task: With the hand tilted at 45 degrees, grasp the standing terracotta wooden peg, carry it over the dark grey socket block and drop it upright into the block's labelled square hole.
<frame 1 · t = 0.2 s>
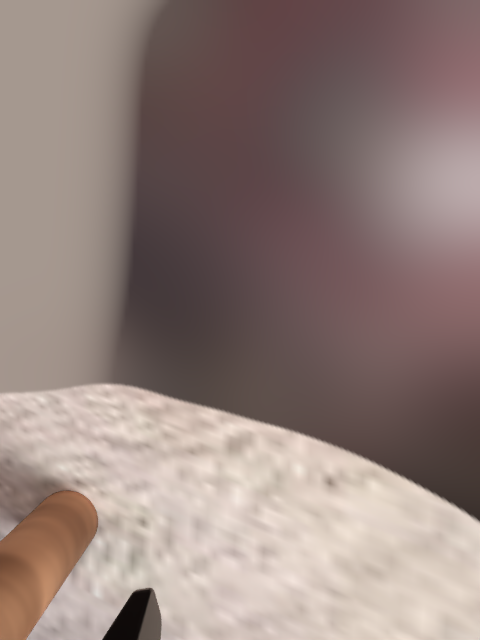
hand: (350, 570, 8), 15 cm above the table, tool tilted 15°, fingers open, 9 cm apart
peg: (67, 521, 24), on the table
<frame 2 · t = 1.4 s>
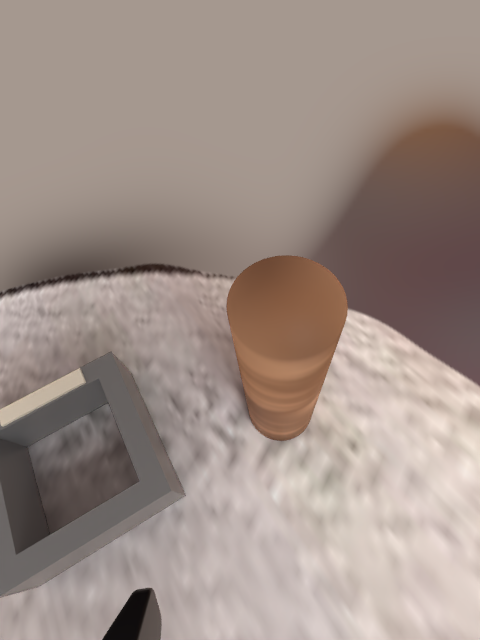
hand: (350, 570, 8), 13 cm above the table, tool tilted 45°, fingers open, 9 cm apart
socket block: (89, 466, 23), on the table
peg: (279, 408, 24), on the table
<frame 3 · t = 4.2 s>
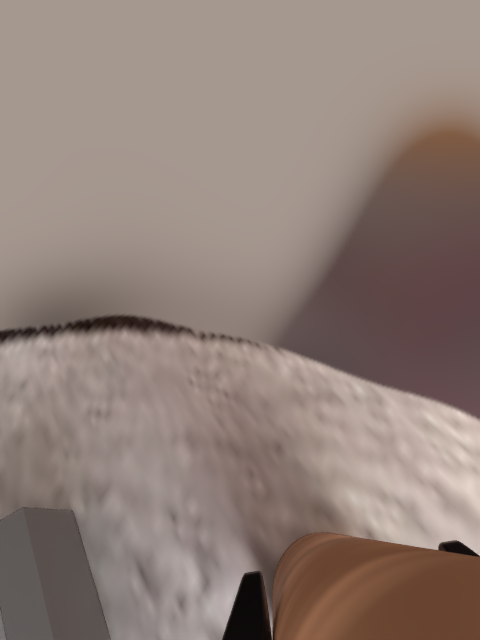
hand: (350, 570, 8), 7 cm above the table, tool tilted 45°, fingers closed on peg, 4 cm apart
peg: (328, 596, 13), on the table, touching gripper
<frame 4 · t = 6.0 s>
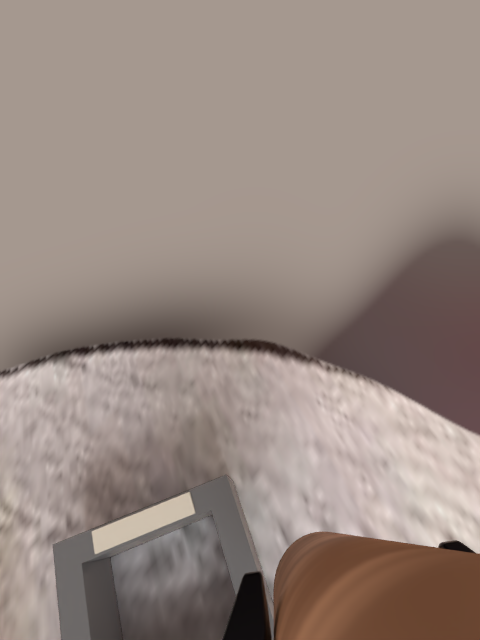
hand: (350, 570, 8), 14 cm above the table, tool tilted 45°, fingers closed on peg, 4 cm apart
socket block: (181, 601, 19), on the table
peg: (328, 595, 13), point 7 cm above the table, touching gripper
when the fingers open (9 cm above the table, at t = 8.1 s): peg drops 2 cm, resting in socket block.
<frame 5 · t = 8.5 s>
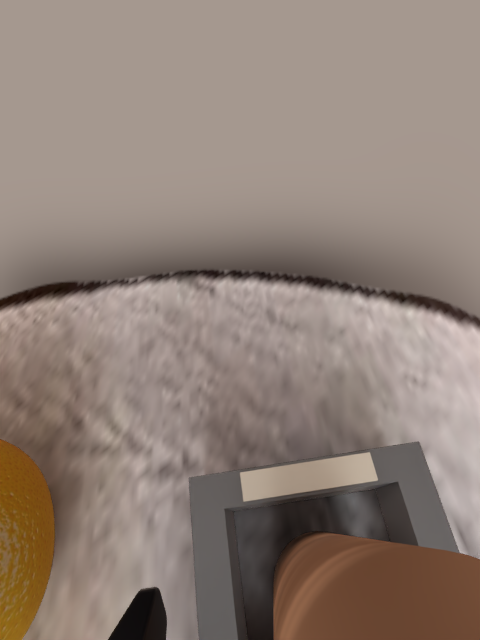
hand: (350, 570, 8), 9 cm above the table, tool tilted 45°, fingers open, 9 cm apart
socket block: (321, 587, 15), on the table
peg: (322, 587, 15), resting in socket block
fruit: (1, 554, 17), on the table
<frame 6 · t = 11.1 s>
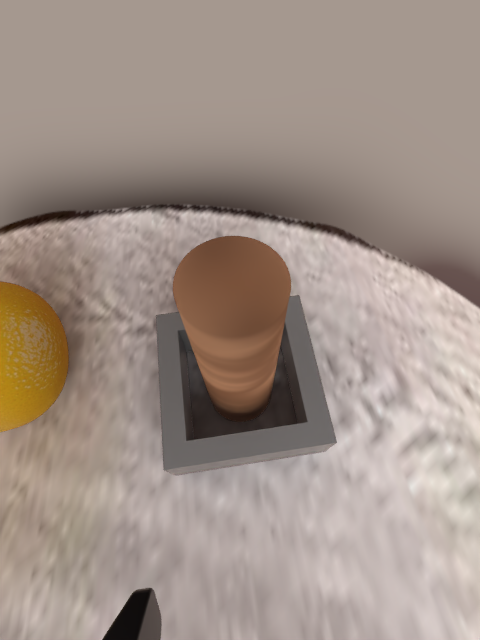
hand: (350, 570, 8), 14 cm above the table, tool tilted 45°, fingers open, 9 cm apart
socket block: (240, 390, 24), on the table
peg: (240, 390, 24), resting in socket block
fruit: (29, 379, 25), on the table
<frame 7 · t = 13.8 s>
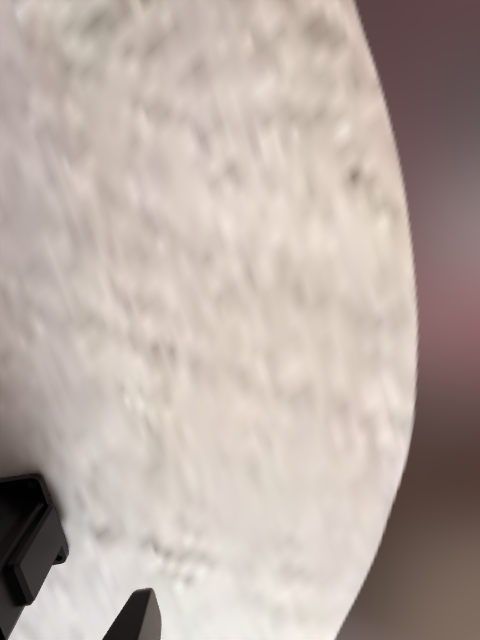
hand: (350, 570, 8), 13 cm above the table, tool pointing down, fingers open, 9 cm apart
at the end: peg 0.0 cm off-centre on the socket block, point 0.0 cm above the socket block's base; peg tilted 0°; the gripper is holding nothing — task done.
